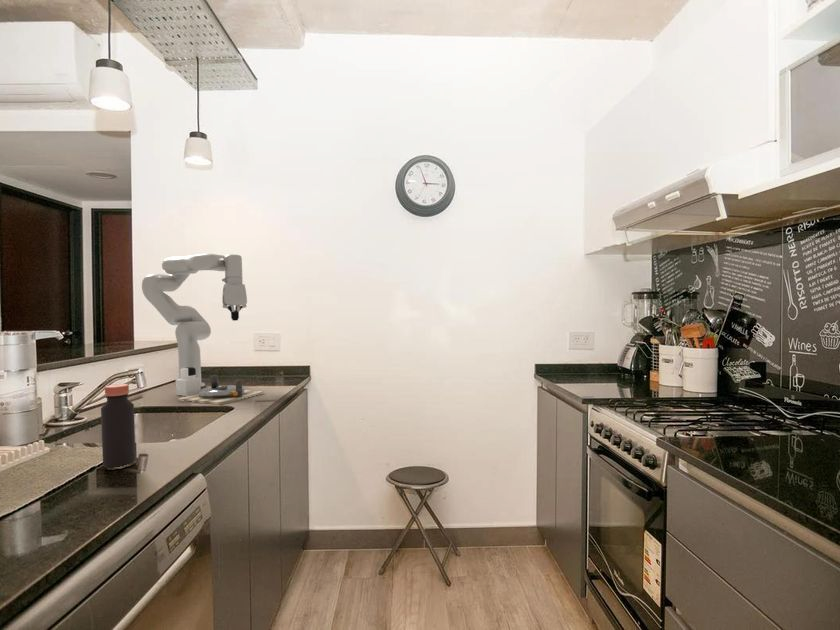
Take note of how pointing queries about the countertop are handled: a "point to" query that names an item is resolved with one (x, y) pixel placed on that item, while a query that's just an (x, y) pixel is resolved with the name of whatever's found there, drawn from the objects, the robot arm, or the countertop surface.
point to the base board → (223, 399)
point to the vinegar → (118, 427)
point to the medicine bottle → (188, 382)
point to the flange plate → (219, 389)
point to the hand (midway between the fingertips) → (235, 320)
